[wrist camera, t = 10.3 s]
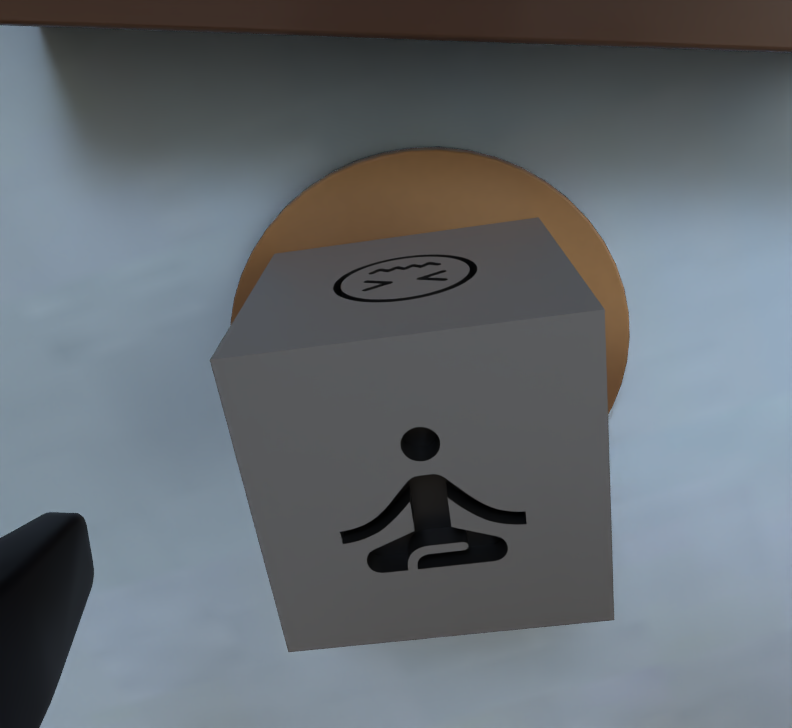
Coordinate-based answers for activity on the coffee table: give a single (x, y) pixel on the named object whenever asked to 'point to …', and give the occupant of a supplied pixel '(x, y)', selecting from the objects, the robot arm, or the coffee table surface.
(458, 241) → the dice cube
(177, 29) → the holder
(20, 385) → the coffee table surface
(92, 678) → the coffee table surface
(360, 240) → the coaster
